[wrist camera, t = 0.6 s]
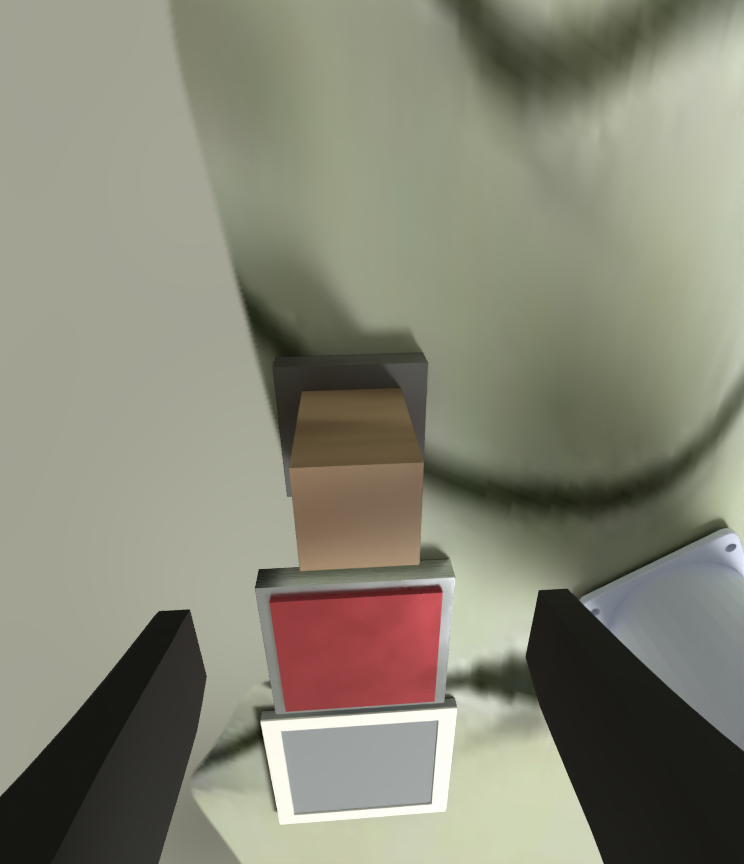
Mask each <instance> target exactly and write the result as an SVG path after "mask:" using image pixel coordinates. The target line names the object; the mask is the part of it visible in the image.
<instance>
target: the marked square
mask: <svg viewBox="0 0 744 864" xmlns="http://www.w3.org/2000/svg"><path fill="white" fill-rule="evenodd" d="M456 714H457V705H456V701H455V698H448V699H444V703H433V704H419V705H404V706H390V707H375V708H361V709H346V710H332V711H317V712H303V713H288V714H276V713H275V710H274V711H262V715H261V727H262V732H263V738H264V743H265V748H266V753H267V759H268V764H269V769H270V774H271V779H272V785H273V790H274V795H275V800H276V806H277V811H278V816H279V821H280V825H282V824H294V823H307V822H319V821H331V820H344V819H356V818H369V817H381V816H393V815H406V814H418V813H431V812H443V811H446V806H447V797H448V787H449V778H450V769H451V760H452V751H453V742H454V733H455V724H456Z"/></svg>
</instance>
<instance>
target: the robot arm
mask: <svg viewBox="0 0 744 864" xmlns="http://www.w3.org/2000/svg"><path fill="white" fill-rule="evenodd" d="M526 660H527V663H528V667H529V671H530V674H531V678H532V681H533V685H534V688H535V691H536V695H537V698H538V701H539V704H540V708H541V710H542V713H543V715H544V718H545V720H546V723H547V725H548V727H549V730H550V732H551V735H552V737H553V740H554V742H555V745H556V747H557V749H558V752H559V754H560V757H561V759H562V761H563V764H564V766H565V769H566V771H567V773H568V776H569V778H570V781H571V783H572V785H573V788H574V790H575V793H576V795H577V797H578V800H579V802H580V805H581V807H582V809H583V812H584V814H585V817H586V819H587V821H588V824H589V826H590V829H591V831H592V834H593V836H594V839H595V842H596V844H597V847H598V849H599V852H600V855H601V857H602V860H603V863H604V864H744V550H743V547H742V545H741V542H740V540H739V537H738V535H737V534H736V533H735V532H734V531H733V530H732V529H729V528H724V529H721V530H718V531H716V532H714V533H712V534H710V535H708V536H706V537H704V538H702V539H700V540H698V541H696V542H694V543H692V544H689V545H687V546H685V547H683V548H681V549H679V550H677V551H675V552H673V553H671V554H669V555H667V556H665V557H663V558H661V559H659V560H657V561H654V562H652V563H650V564H648V565H646V566H644V567H642V568H640V569H638V570H636V571H634V572H632V573H630V574H628V575H626V576H624V577H622V578H619V579H617V580H615V581H613V582H611V583H609V584H607V585H605V586H603V587H601V588H599V589H597V590H595V591H593V592H591V593H589V594H587V595H585V596H583V597H581V599H580V600H578V599H577V598H576V597H575V596H574V595H573V594H572V593H571V592H570V591H569V590H568V589H553V590H539V592H538V597H537V602H536V607H535V612H534V617H533V622H532V627H531V632H530V637H529V642H528V647H527V652H526ZM206 677H207V676H206V672H205V668H204V664H203V660H202V656H201V652H200V648H199V644H198V640H197V636H196V632H195V628H194V624H193V620H192V616H191V612H190V610H173V611H159V612H158V613H157V614H156V615H155V616H154V617H153V618H152V620H151V621H150V622H149V624H148V625H147V626H146V627H145V629H144V630H143V631H142V633H141V634H140V635H139V637H138V638H137V639H136V640H135V641H134V643H133V644H132V645H131V647H130V648H129V649H128V650H127V652H126V653H125V654H124V656H123V657H122V658H121V659H120V660H119V662H118V663H117V664H116V665H115V667H114V668H113V669H112V671H111V672H110V673H109V674H108V675H107V677H106V678H105V679H104V680H103V681H102V683H101V684H100V685H99V686H98V687H97V689H96V690H95V691H94V692H93V693H92V695H91V696H90V697H89V698H88V699H87V701H86V702H85V703H84V704H83V705H82V707H81V708H80V709H79V710H78V711H77V713H76V714H75V715H74V716H73V717H72V718H71V720H70V721H69V722H68V723H67V724H66V725H65V726H64V728H63V729H62V730H61V731H60V732H59V733H58V734H57V735H56V736H55V738H54V739H53V740H52V741H51V742H50V743H49V744H48V745H47V747H46V748H45V749H44V750H43V751H42V752H41V753H40V754H39V756H38V757H37V758H36V759H35V760H34V761H33V762H32V763H31V764H30V765H29V767H28V768H27V769H26V770H25V771H24V772H23V773H22V774H21V775H20V776H19V777H18V778H17V779H16V781H15V782H14V783H13V784H12V785H11V786H10V787H9V788H8V789H7V790H6V791H5V792H4V793H3V794H2V795H1V796H0V864H158V863H159V859H160V856H161V852H162V849H163V846H164V842H165V839H166V836H167V832H168V829H169V825H170V822H171V818H172V815H173V812H174V808H175V805H176V802H177V798H178V795H179V791H180V788H181V785H182V781H183V778H184V774H185V771H186V767H187V764H188V760H189V757H190V754H191V750H192V747H193V743H194V739H195V736H196V732H197V728H198V723H199V717H200V711H201V707H202V701H203V695H204V689H205V683H206Z"/></svg>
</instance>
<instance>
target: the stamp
mask: <svg viewBox="0 0 744 864" xmlns="http://www.w3.org/2000/svg"><path fill="white" fill-rule="evenodd" d="M427 370H428V362H427V360H426V358H425V356H424V354H423V353H393V354H361V355H330V356H298V357H276V359H275V362H274V365H273V375H274V384H275V393H276V402H277V411H278V420H279V429H280V438H281V447H282V456H283V464H284V474H285V483H286V492H287V497H292V501H293V509H294V510H293V511H294V519H295V530H296V538H297V549H298V557H299V568H300V571H311V570H329V569H348V568H367V567H385V566H404V565H419V563H420V540H421V517H422V494H423V471H424V440H425V417H426V393H427Z"/></svg>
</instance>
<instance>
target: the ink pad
mask: <svg viewBox="0 0 744 864" xmlns="http://www.w3.org/2000/svg"><path fill="white" fill-rule="evenodd" d="M454 587H455V574H454V571H453V568H452V564H451V561H450V559H441V560H423V561H420V563H419V565H404V566H385V567H367V568H348V569H329V570H311V571H300V568H299V567H294V568H275V569H259V571H258V576H257V581H256V586H255V592H256V598H257V604H258V610H259V616H260V622H261V628H262V634H263V640H264V646H265V652H266V658H267V664H268V670H269V676H270V683H271V689H272V695H273V701H274V707H275V713H276V714H288V713H303V712H317V711H332V710H346V709H361V708H375V707H390V706H404V705H419V704H433V703H444V699H445V688H446V677H447V666H448V654H449V643H450V632H451V621H452V610H453V598H454Z"/></svg>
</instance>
